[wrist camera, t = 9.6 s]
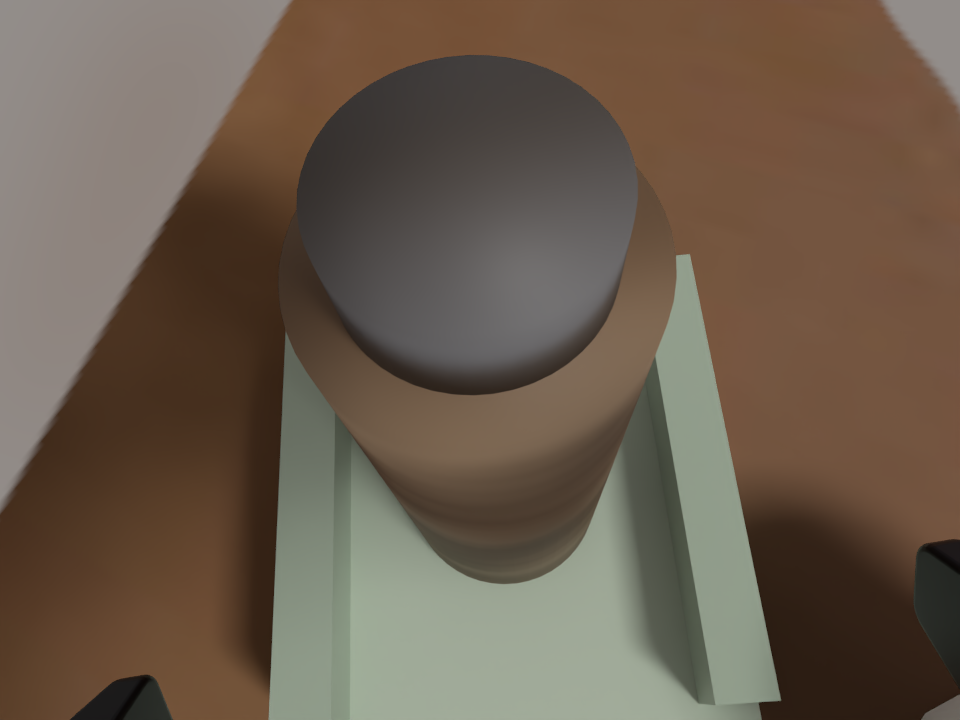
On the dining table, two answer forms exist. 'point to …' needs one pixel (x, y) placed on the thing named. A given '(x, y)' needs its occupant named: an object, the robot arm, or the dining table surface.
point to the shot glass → (945, 711)
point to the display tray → (532, 604)
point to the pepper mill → (480, 300)
